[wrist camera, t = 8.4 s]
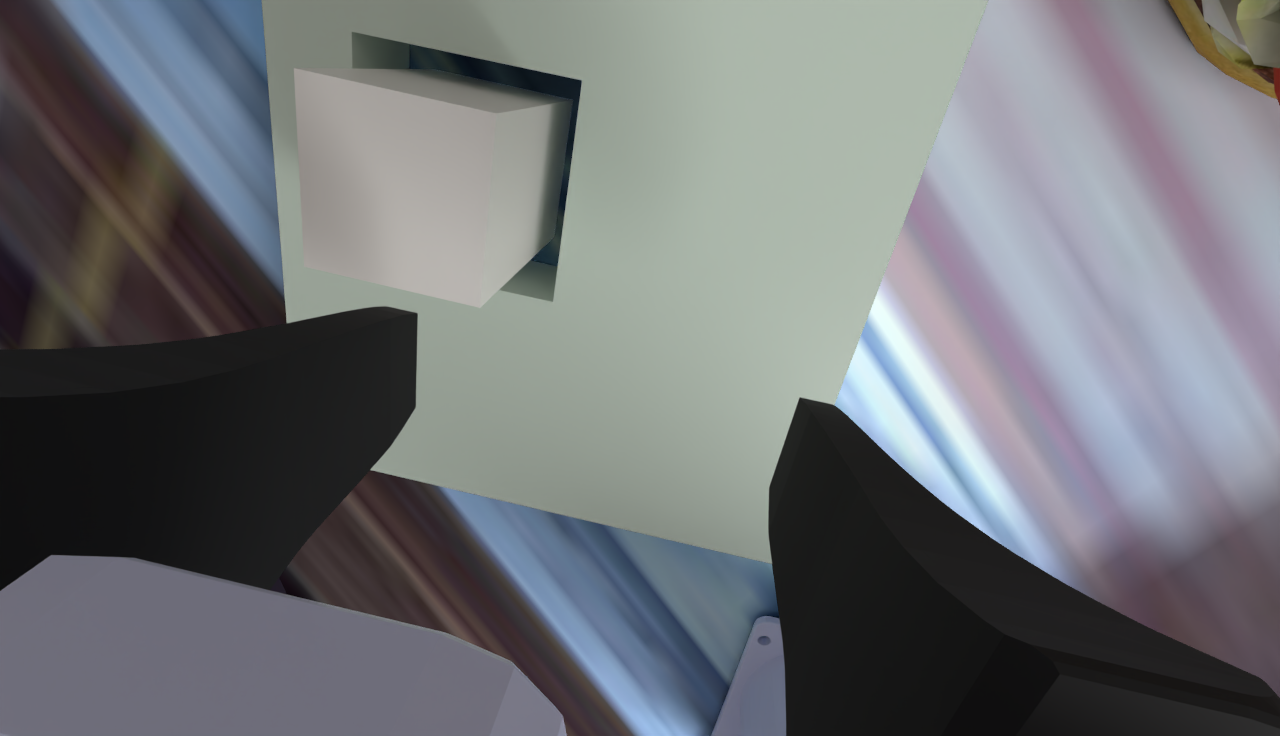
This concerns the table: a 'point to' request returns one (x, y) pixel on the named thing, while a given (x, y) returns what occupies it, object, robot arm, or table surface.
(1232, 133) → the table surface
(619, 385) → the pale green square slab
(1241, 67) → the food
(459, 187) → the block
